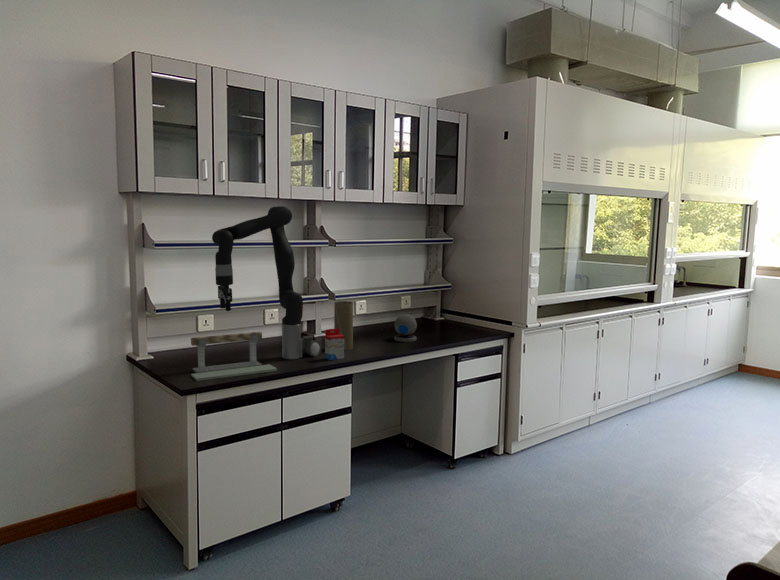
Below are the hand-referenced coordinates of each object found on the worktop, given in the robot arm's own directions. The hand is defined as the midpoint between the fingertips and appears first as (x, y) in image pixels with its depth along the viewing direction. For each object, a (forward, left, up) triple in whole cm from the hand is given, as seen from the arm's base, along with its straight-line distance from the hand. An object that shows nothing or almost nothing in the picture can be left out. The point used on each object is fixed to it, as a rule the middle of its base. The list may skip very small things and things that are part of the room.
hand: (225, 309), depth 268 cm
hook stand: (0, +1, -27) cm, 27 cm away
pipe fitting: (-44, -7, -28) cm, 53 cm away
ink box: (-52, +7, -28) cm, 60 cm away
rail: (0, +1, -15) cm, 15 cm away
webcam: (-110, -16, -28) cm, 115 cm away
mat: (0, +11, -27) cm, 30 cm away
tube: (-67, -12, -28) cm, 74 cm away
